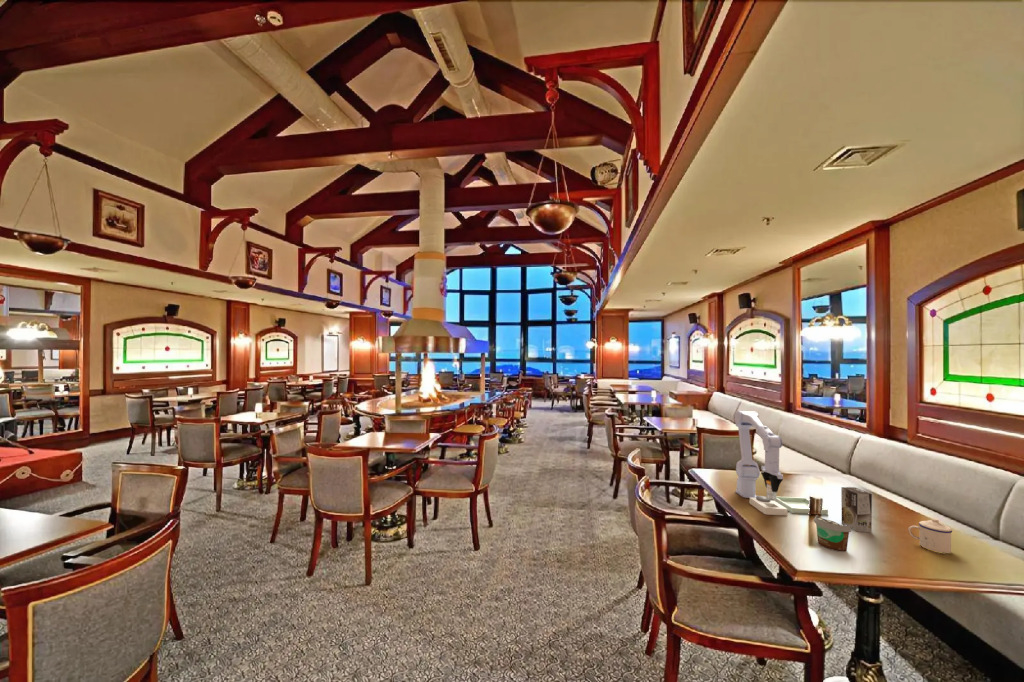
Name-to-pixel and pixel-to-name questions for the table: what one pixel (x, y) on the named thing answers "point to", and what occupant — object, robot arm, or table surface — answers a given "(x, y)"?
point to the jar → (770, 492)
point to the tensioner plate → (768, 506)
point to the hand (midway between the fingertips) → (771, 489)
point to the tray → (797, 505)
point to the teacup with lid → (934, 535)
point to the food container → (832, 534)
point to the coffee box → (856, 509)
